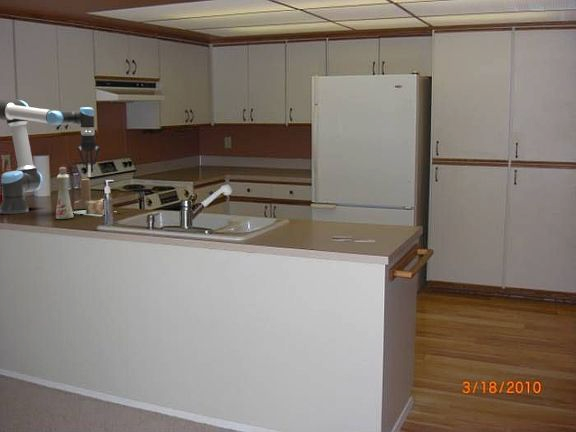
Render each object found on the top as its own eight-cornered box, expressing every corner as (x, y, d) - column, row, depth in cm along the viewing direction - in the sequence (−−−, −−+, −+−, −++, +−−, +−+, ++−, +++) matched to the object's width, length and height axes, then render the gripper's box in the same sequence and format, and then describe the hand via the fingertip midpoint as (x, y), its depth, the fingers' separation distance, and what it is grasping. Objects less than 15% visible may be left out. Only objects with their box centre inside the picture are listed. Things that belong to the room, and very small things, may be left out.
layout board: (100, 216, 380) (100, 216, 380) (67, 213, 395) (67, 212, 395) (124, 213, 394) (124, 212, 393) (91, 209, 409) (91, 208, 409)
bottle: (73, 219, 372) (70, 167, 368) (55, 220, 369) (52, 167, 365) (73, 217, 380) (71, 165, 376) (56, 217, 377) (53, 166, 373)
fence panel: (90, 212, 390) (89, 200, 389) (88, 212, 391) (87, 200, 390) (105, 210, 401) (104, 198, 400) (103, 210, 401) (102, 198, 400)
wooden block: (74, 210, 409) (72, 179, 406) (75, 209, 413) (74, 178, 410) (90, 209, 410) (88, 179, 407) (91, 208, 414) (89, 178, 412)
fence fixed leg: (104, 215, 383) (104, 202, 382) (102, 216, 381) (101, 202, 380) (87, 214, 391) (87, 200, 390) (85, 214, 389) (84, 201, 388)
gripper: (76, 135, 387) (77, 177, 391) (100, 135, 391) (101, 176, 395) (75, 134, 394) (77, 176, 398) (99, 134, 398) (100, 175, 402)
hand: (89, 176), depth 396 cm, fingers closed
